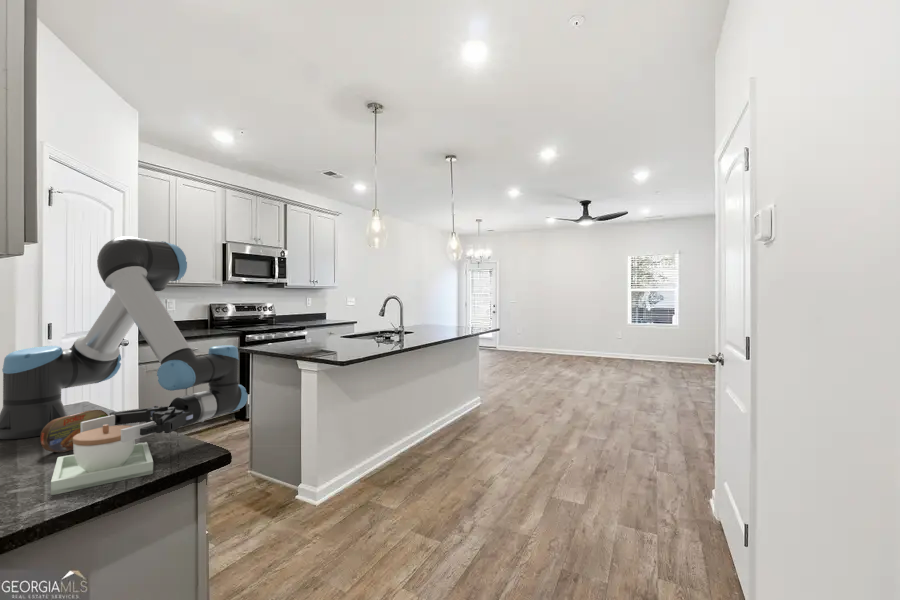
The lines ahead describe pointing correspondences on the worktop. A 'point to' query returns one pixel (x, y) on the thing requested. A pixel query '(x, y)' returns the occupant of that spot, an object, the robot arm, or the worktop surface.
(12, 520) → the worktop surface
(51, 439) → the tin
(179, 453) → the worktop surface
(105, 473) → the tray
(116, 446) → the lidded jar
